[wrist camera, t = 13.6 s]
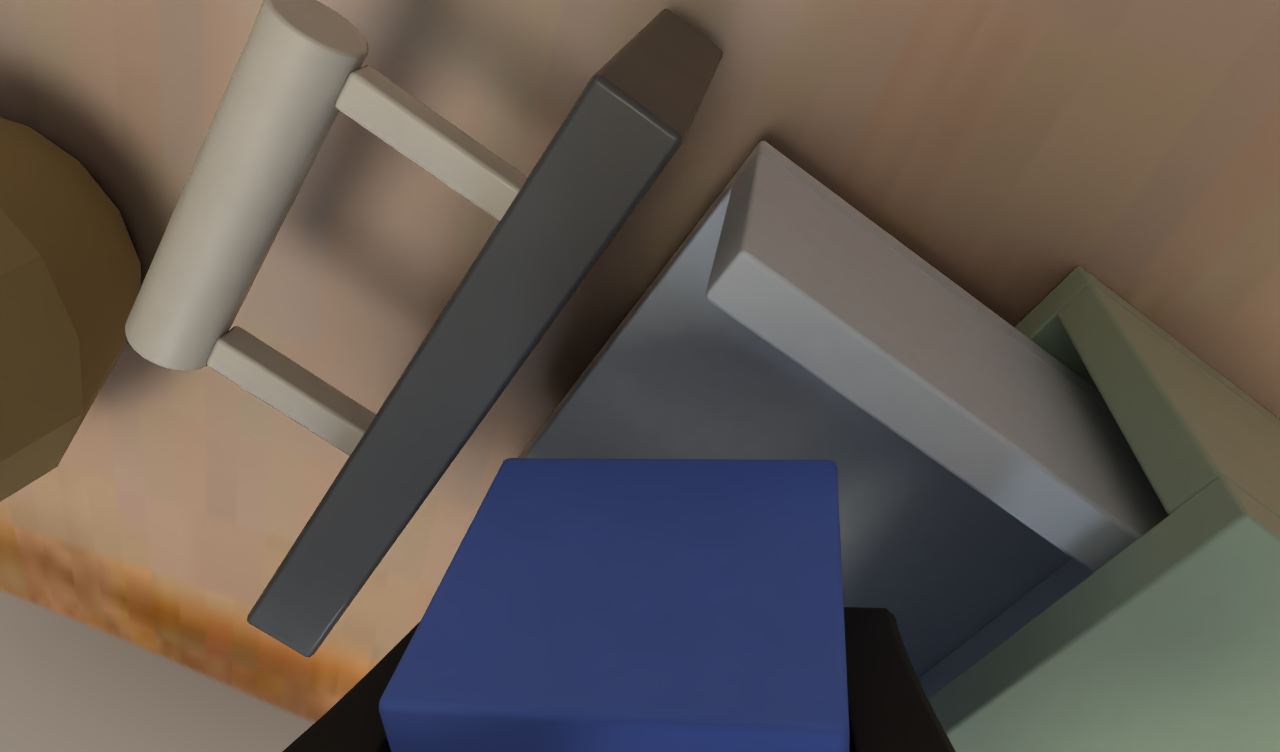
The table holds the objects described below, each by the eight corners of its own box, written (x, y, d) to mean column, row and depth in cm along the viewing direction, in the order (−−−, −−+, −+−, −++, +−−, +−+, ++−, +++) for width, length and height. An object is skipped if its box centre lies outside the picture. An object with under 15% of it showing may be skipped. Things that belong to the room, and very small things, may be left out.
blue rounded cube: (503, 455, 13) (371, 704, 9) (836, 456, 12) (849, 730, 8) (548, 695, 15) (456, 983, 11) (836, 710, 14) (846, 1026, 10)
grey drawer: (209, 320, 20) (-1, 478, 14) (444, -162, 15) (251, -180, 10) (849, 730, 22) (861, 987, 17) (1228, 433, 17) (1402, 667, 12)
